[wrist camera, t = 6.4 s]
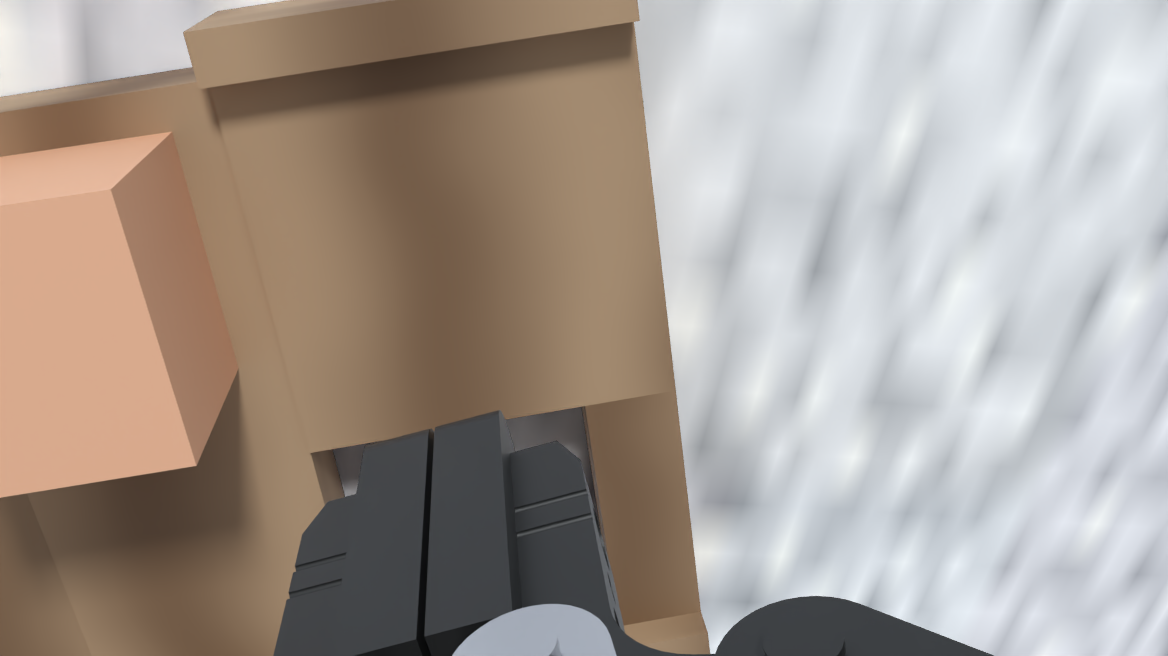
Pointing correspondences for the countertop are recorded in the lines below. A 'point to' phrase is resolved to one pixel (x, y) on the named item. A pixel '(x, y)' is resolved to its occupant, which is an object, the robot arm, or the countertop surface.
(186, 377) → the block
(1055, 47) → the countertop surface
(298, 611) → the robot arm
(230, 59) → the brown wooden compartment frame
